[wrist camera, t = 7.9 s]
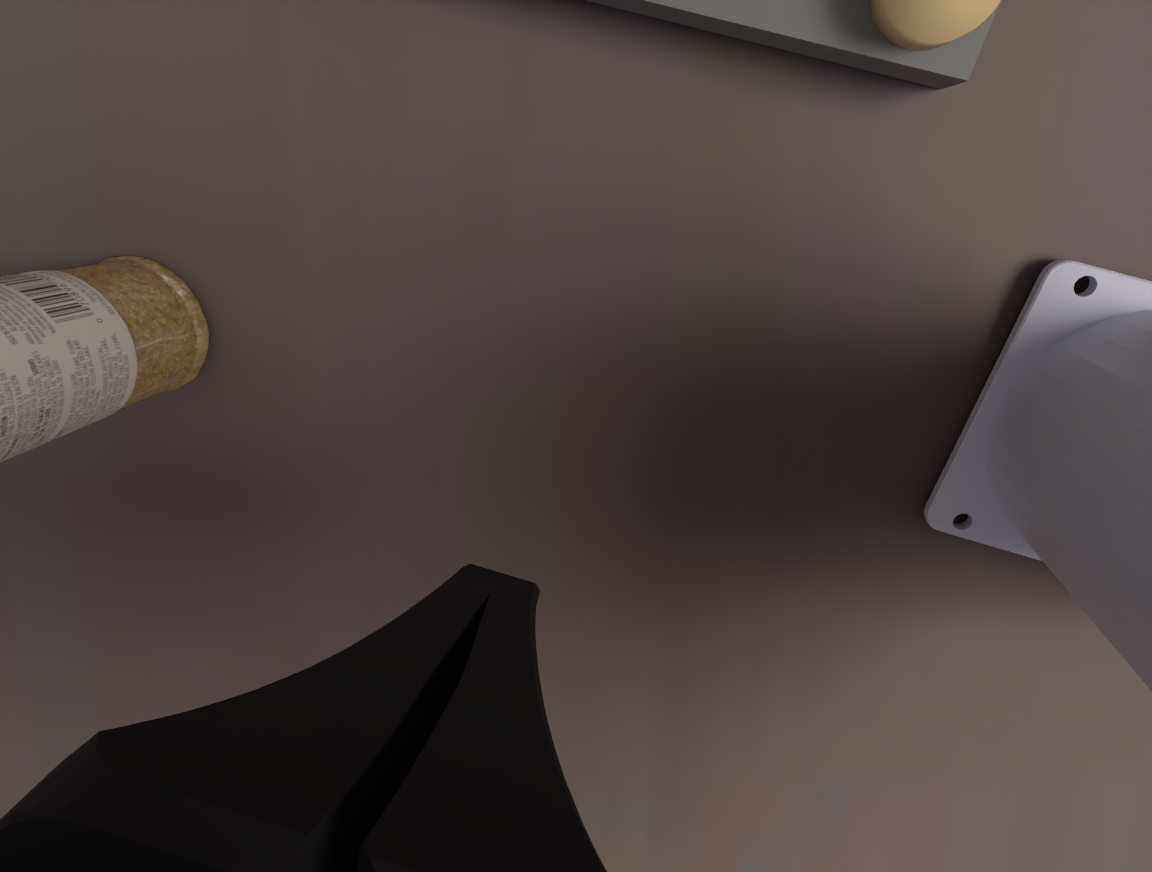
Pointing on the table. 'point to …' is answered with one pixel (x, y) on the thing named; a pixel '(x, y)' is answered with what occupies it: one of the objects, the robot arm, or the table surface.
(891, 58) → the levelling base
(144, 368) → the sprinkles bottle
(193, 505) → the table surface
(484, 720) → the robot arm
